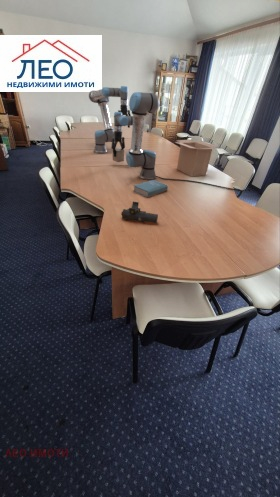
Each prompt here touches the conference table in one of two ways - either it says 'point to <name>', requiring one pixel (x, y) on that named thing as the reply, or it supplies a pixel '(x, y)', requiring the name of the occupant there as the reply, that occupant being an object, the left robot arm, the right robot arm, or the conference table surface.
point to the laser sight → (138, 214)
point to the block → (119, 155)
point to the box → (194, 157)
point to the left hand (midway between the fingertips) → (123, 128)
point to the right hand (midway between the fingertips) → (118, 156)
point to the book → (150, 188)
